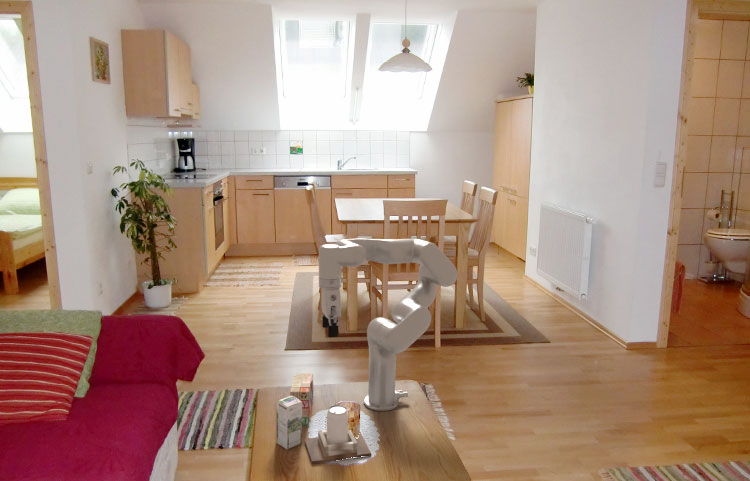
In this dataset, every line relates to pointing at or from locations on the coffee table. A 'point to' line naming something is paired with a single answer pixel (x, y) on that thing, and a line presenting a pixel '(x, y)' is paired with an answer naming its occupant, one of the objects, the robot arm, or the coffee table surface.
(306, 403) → the stack of blocks
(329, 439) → the can
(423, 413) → the coffee table surface
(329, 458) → the collar board
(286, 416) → the syrup box
